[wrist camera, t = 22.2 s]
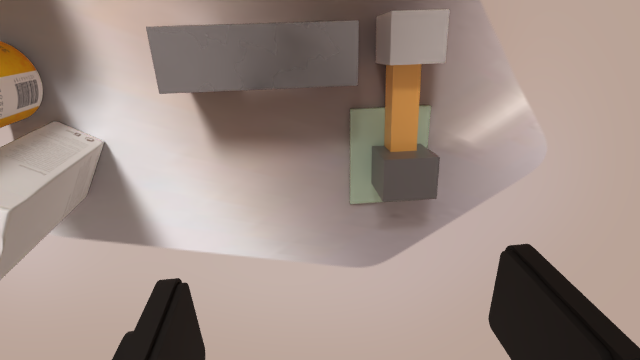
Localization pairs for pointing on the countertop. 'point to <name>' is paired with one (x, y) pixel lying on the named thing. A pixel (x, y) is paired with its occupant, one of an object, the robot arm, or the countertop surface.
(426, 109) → the mat
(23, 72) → the beer can
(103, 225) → the countertop surface
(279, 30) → the block
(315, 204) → the countertop surface
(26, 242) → the skincare box
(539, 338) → the robot arm
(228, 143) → the countertop surface
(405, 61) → the plug
